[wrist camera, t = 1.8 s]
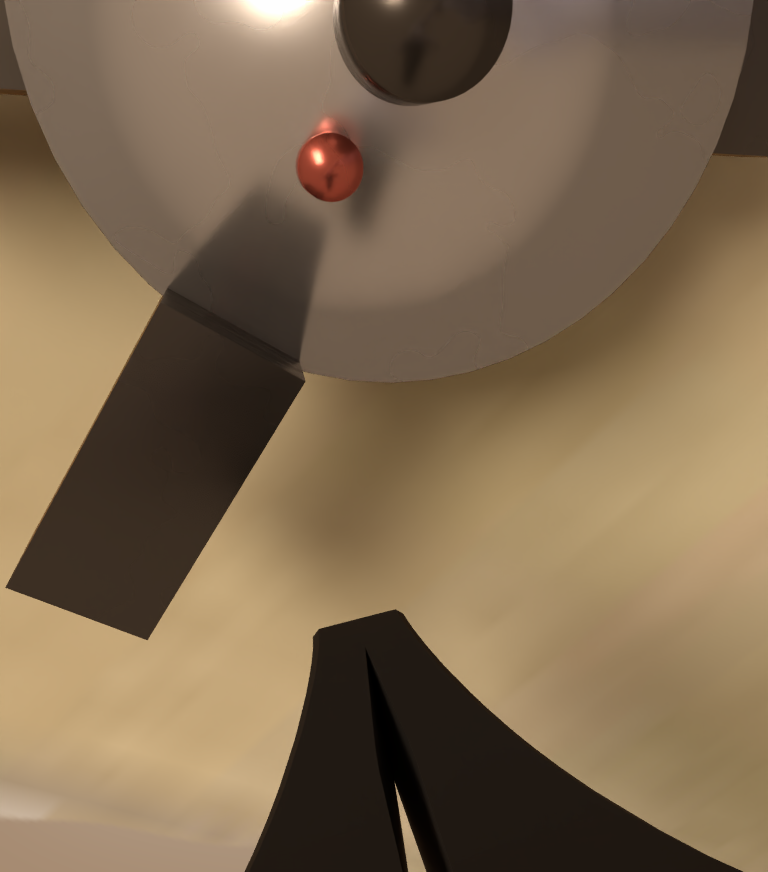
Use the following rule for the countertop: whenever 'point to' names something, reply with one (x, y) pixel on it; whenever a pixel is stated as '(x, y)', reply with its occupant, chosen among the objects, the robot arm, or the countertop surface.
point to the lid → (340, 219)
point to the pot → (741, 135)
